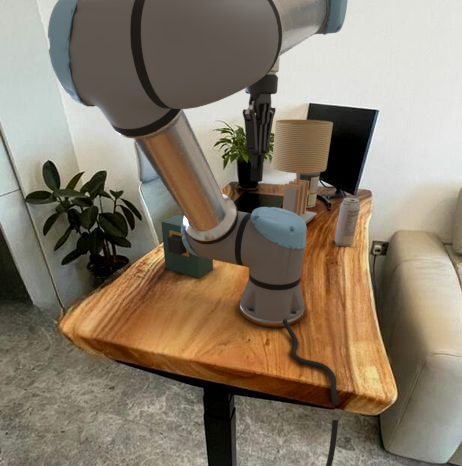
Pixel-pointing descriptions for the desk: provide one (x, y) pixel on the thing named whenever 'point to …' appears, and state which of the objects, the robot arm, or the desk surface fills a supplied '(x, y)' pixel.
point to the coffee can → (311, 187)
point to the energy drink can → (347, 221)
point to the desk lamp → (300, 158)
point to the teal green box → (185, 261)
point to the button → (176, 245)
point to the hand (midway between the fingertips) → (256, 180)
